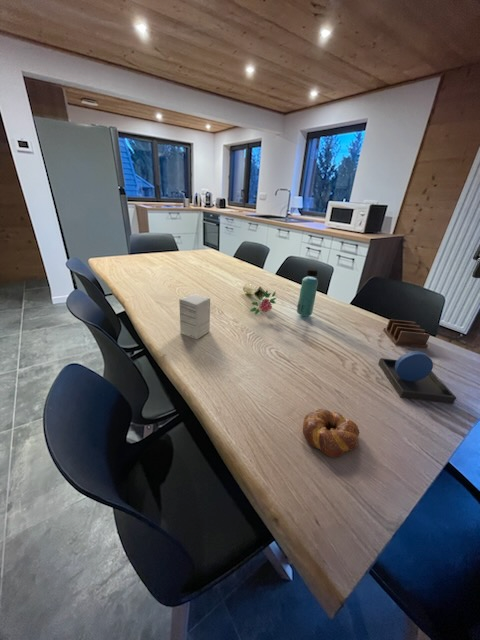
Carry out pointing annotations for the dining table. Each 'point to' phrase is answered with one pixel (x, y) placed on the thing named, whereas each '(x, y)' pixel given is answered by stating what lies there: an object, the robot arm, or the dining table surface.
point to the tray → (417, 385)
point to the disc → (413, 366)
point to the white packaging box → (194, 315)
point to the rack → (406, 333)
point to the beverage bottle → (307, 293)
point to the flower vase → (259, 294)
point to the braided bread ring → (330, 432)
